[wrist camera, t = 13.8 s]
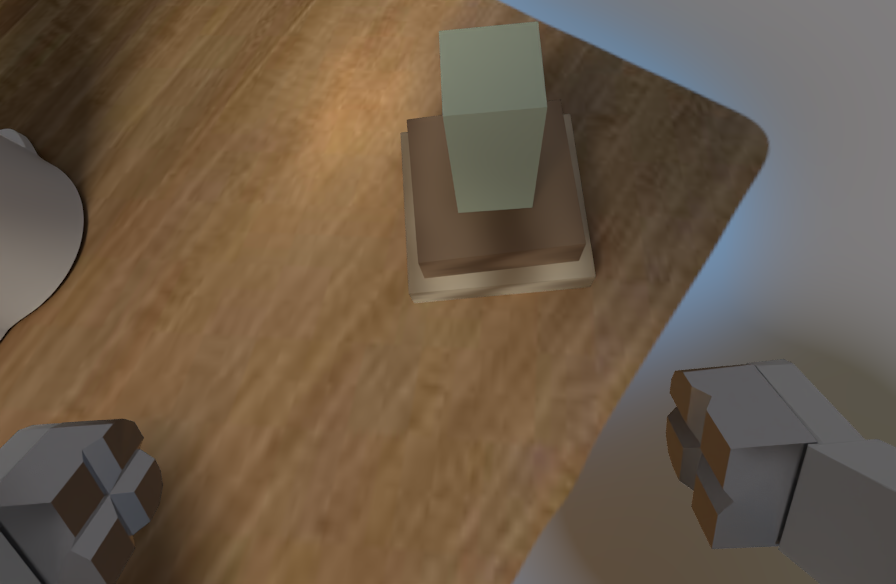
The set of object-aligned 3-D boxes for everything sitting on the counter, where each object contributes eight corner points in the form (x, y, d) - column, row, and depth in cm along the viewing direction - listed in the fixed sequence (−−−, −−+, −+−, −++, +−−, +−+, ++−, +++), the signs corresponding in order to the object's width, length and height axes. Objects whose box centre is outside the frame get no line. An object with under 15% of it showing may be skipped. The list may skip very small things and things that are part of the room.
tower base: (415, 305, 38) (408, 293, 35) (407, 154, 41) (400, 132, 38) (588, 289, 37) (595, 276, 34) (565, 137, 41) (570, 113, 38)
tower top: (424, 278, 35) (418, 263, 32) (413, 144, 38) (406, 119, 35) (578, 260, 35) (586, 243, 32) (555, 126, 38) (560, 99, 35)
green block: (458, 212, 33) (442, 116, 23) (455, 148, 34) (439, 31, 25) (532, 207, 33) (547, 107, 23) (526, 142, 34) (538, 21, 24)
